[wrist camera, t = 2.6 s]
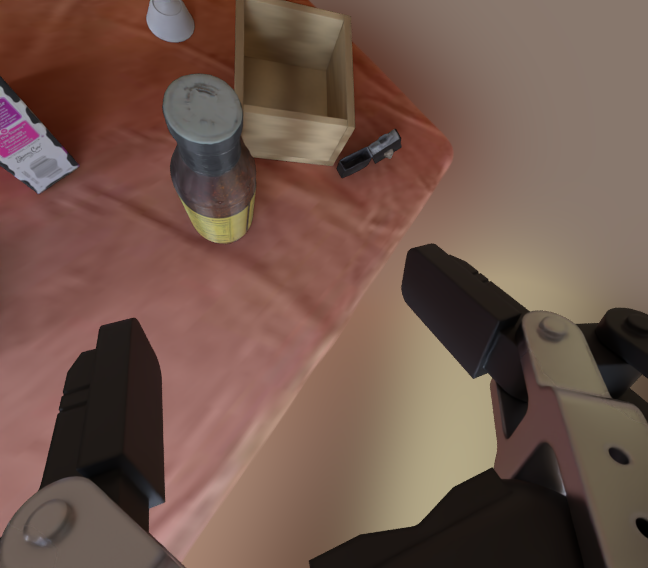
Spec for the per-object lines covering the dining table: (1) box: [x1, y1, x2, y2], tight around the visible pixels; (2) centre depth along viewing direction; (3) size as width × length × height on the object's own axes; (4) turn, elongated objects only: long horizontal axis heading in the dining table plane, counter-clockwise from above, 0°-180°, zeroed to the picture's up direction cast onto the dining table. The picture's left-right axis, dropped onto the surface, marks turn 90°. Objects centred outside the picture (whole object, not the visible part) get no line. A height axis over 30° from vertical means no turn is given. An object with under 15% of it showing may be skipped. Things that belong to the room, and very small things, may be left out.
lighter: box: [337, 129, 401, 178], centre depth 40 cm, size 8×2×5 cm
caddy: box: [235, 0, 355, 166], centre depth 36 cm, size 12×13×8 cm
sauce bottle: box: [162, 74, 256, 244], centre depth 27 cm, size 6×6×20 cm
